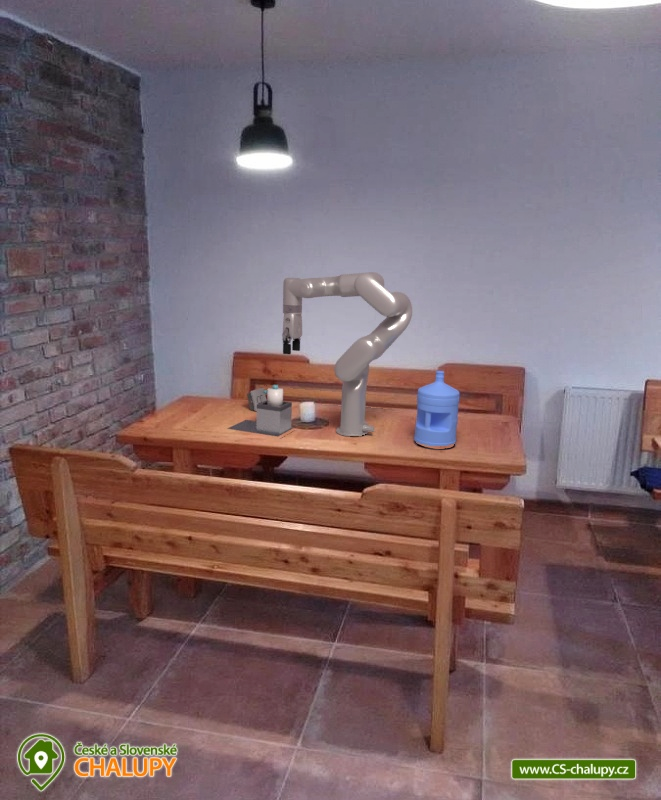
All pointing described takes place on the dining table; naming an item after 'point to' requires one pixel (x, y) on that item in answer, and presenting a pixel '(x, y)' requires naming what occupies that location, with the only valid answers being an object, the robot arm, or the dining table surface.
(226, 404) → the dining table surface
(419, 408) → the water jug
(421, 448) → the dining table surface
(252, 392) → the electrical switch
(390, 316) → the robot arm
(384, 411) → the dining table surface
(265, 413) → the grey box
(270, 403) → the pump
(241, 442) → the dining table surface
